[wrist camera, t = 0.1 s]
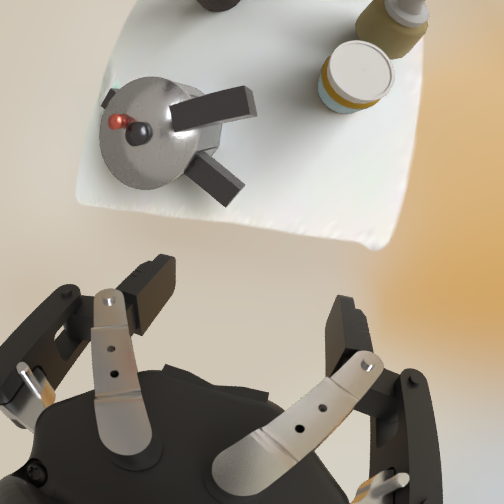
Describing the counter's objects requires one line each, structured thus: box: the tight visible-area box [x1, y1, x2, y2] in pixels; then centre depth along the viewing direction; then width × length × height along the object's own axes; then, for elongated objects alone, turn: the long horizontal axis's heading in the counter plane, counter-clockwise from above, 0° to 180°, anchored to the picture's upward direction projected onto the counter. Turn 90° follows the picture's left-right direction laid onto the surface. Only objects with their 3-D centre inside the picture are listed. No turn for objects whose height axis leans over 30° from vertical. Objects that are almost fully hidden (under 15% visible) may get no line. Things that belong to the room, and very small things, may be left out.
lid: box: [99, 77, 257, 190], centre depth 27 cm, size 21×15×5 cm
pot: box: [101, 82, 245, 208], centre depth 35 cm, size 24×14×9 cm, turn 50°
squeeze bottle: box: [355, 0, 429, 59], centre depth 19 cm, size 8×8×18 cm
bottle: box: [318, 40, 395, 114], centre depth 25 cm, size 7×7×15 cm
